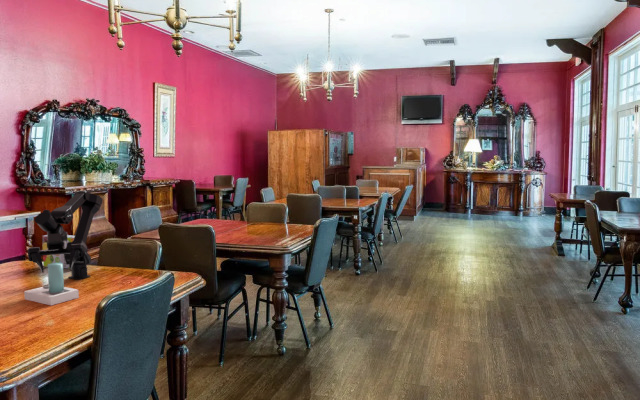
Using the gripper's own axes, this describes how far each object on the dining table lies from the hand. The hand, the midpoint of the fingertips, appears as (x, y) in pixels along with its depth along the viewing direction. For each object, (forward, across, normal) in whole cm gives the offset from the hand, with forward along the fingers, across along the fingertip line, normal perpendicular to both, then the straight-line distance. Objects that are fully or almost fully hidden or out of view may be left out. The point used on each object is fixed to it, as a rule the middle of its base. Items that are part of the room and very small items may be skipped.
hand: (56, 270), depth 194 cm
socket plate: (+9, -2, +4) cm, 10 cm away
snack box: (-30, +2, +45) cm, 54 cm away
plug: (+11, 0, +2) cm, 11 cm away
